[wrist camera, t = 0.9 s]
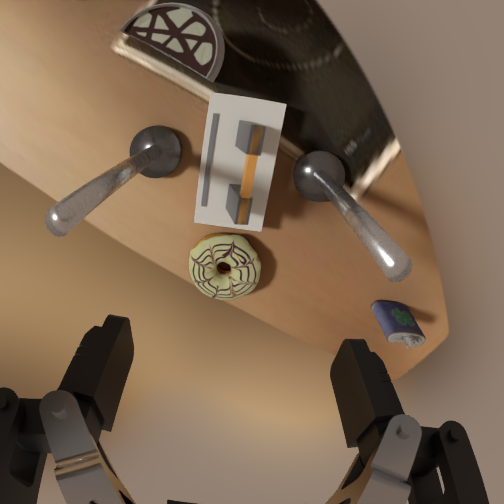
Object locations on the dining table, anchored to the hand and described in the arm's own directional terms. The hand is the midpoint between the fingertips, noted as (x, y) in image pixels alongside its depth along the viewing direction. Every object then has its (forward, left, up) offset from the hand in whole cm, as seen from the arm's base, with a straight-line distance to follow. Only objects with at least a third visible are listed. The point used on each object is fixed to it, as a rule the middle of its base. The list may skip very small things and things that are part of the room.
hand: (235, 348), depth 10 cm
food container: (-8, +15, -32) cm, 36 cm away
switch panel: (0, 0, -32) cm, 32 cm away
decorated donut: (0, -15, -32) cm, 36 cm away
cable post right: (+11, 0, -32) cm, 33 cm away
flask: (+32, -21, -32) cm, 49 cm away
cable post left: (-11, 0, -32) cm, 34 cm away
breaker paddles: (0, 0, -29) cm, 29 cm away
